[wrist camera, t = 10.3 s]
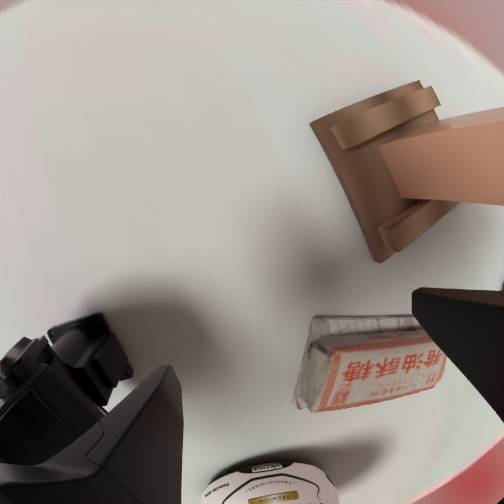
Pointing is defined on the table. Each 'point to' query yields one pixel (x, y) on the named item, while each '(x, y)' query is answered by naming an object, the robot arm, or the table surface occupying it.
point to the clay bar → (450, 159)
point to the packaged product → (365, 362)
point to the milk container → (272, 485)
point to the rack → (380, 165)
